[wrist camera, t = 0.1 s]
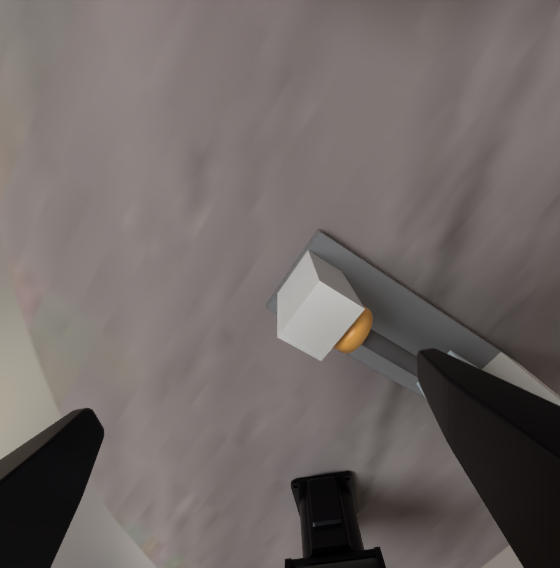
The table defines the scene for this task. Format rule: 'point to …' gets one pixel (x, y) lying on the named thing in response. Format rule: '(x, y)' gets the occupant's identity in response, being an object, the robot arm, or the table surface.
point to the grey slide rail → (377, 320)
